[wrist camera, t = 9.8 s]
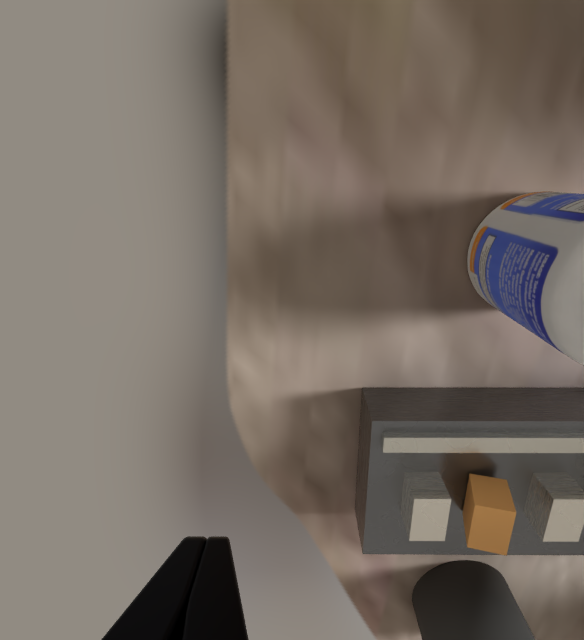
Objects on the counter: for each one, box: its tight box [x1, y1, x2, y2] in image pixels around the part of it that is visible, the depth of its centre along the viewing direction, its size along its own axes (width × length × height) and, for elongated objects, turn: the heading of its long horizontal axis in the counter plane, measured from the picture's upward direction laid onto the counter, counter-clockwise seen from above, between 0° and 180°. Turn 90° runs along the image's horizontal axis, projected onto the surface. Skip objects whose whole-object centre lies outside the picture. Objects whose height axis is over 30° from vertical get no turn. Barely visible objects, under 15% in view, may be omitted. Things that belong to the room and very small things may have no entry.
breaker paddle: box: [462, 473, 516, 556], centre depth 19 cm, size 2×2×2 cm
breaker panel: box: [355, 388, 584, 555], centre depth 20 cm, size 14×8×5 cm, turn 90°
